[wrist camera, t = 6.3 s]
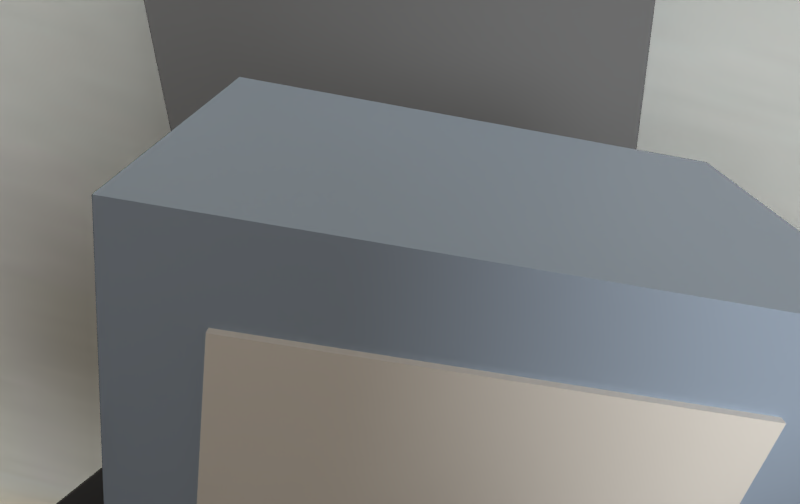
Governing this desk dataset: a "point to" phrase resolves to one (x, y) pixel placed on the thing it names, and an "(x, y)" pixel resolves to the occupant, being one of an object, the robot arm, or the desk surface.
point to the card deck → (437, 316)
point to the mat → (421, 57)
